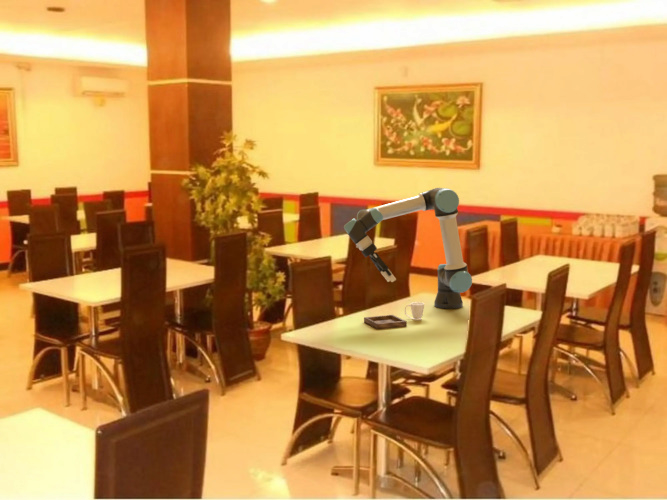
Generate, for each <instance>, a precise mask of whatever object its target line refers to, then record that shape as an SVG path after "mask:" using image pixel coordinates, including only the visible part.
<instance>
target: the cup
mask: <svg viewBox="0 0 667 500" xmlns="http://www.w3.org/2000/svg"><path fill="white" fill-rule="evenodd" d="M407 307H410V308H411V309H410V311H411V314H412V316H410V315H409V314H407V312H406V309H407ZM424 308H425V302H419V301H416V302H415V301H414V302H410V304H407V305H406V306H405V307H404V314H405V315H406V317H408V318H409V319H411V320H413V321H422V318H423V315H424V314H423V313H424Z"/></svg>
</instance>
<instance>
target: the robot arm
mask: <svg viewBox="0 0 667 500" xmlns="http://www.w3.org/2000/svg"><path fill="white" fill-rule="evenodd" d="M459 205H460V198H459V196H458V194H457V192H455V190H452V189H451V188H447V187H446V188H445V187H435V188H432V189H430V190H425V191H424V192H420V193H418V195H416V196H412V197H409V198H404V199H401V200H397V201H394V202H391V203H386V204H383V205H382V204H381V205H379V206H375V207H372V208H371V207H370V208H367V209H360V210H359V211H358V212H357V215H356V218H355V217H354V218H352V219H351V220H349V221H348V222H347V223H345V224H344V226H343V229H344V231H345V232H346V233H347V235H348V237H349V238H350V240H352V242H353V243H354V245H355V248H357V249H359V251H361V254H362V255H363V256H364V257H365V258H367V257H369V258H370V261H371V262H372V263H373V264H374V266H375V267H376V269H377V271H378V272H380V274H381V275H382V276H383V278H384V279H385V280H386V282H387V283H389V282H391V283H393V282H396V281H397V278H396V277H395V276H394V274H393V273H392V271H391V270H390V269H389V266H388V265H387V264H386V263H385V261H383V260H382V258H381V257H380V256H379V254H378V253H377V252H375V251H376V250H377V249H378V248H377V246H376V245H375V243H373V240H372V239H371V238H370V237H369V235H368V234H367V232H369V231H370V230H371V229H373V228H374V227H375V226H377V225H379V224H380V223H381V222H382V221H383V220H384V221H385V220H388V219H392V218H395V217H399V216H403V215H407V214H411V213H414V212H418V211H419V212H420V211H423V212H426V211H431V210H432V211H433V210H434V216H435V218H436V219H438V220H439V221H438V222H439V227H440V234H441V240H442V245H443V250H444V256H445V262H446V263H440V264H439V265H438V266H437V271H436V272H437V293H436V296H435V299H434V302H433V303H434V305H433V306H434V307H435V308H437V309H444V308H445V310H450V309H451V310H452V309H453V308H455V309H460V307H461V308H463V305H464V303H463V300H462V295H461V293H463V294H464V293H465V292H468V290H469V289H470V288H471V286H472V284H473V277H472V275H471V274H470V273H469V271H468V264H467V263H466V262H464V258H463V252H462V246H461V239H460V235H459V228H458V227H459V226H458V223H457V222H458V221H457V215H458V214H459V210H458V206H459ZM453 310H454V309H453Z"/></svg>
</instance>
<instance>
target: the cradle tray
mask: <svg viewBox="0 0 667 500" xmlns="http://www.w3.org/2000/svg"><path fill="white" fill-rule="evenodd" d="M363 323H364V324H366V325H369V326H370V327H372V328H374V329H375V330H384V329H393V328H402V327H407V320H405V319H402V318H401V317H398V316H397V315H394V314H386V315H385V314H384V315H376V316H366V317H365V316H364V317H363Z"/></svg>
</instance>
